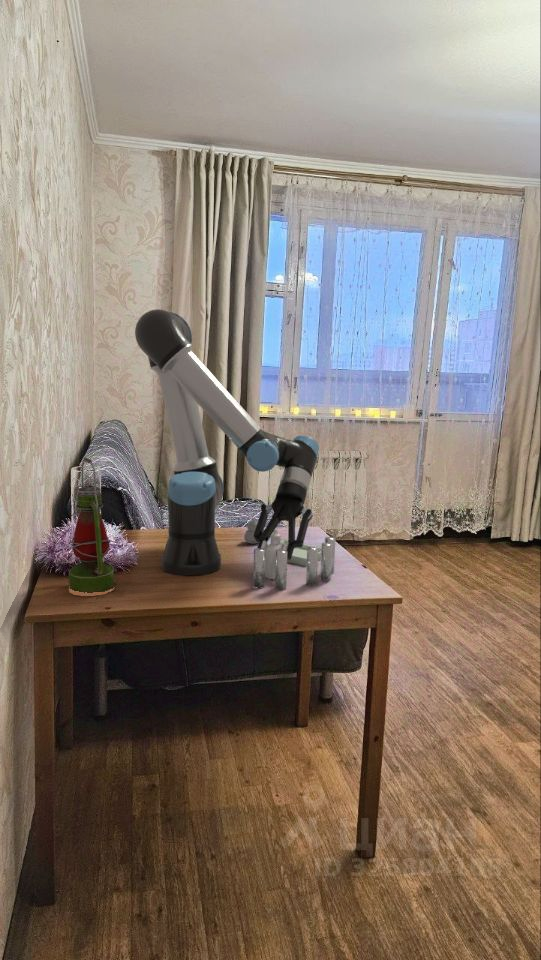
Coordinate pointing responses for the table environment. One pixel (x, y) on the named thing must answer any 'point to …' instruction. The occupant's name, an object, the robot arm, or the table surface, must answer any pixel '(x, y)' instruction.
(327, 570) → the spacers
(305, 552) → the tray
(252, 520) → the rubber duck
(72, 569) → the lantern
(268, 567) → the eye dropper bottle
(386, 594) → the table surface
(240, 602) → the table surface
